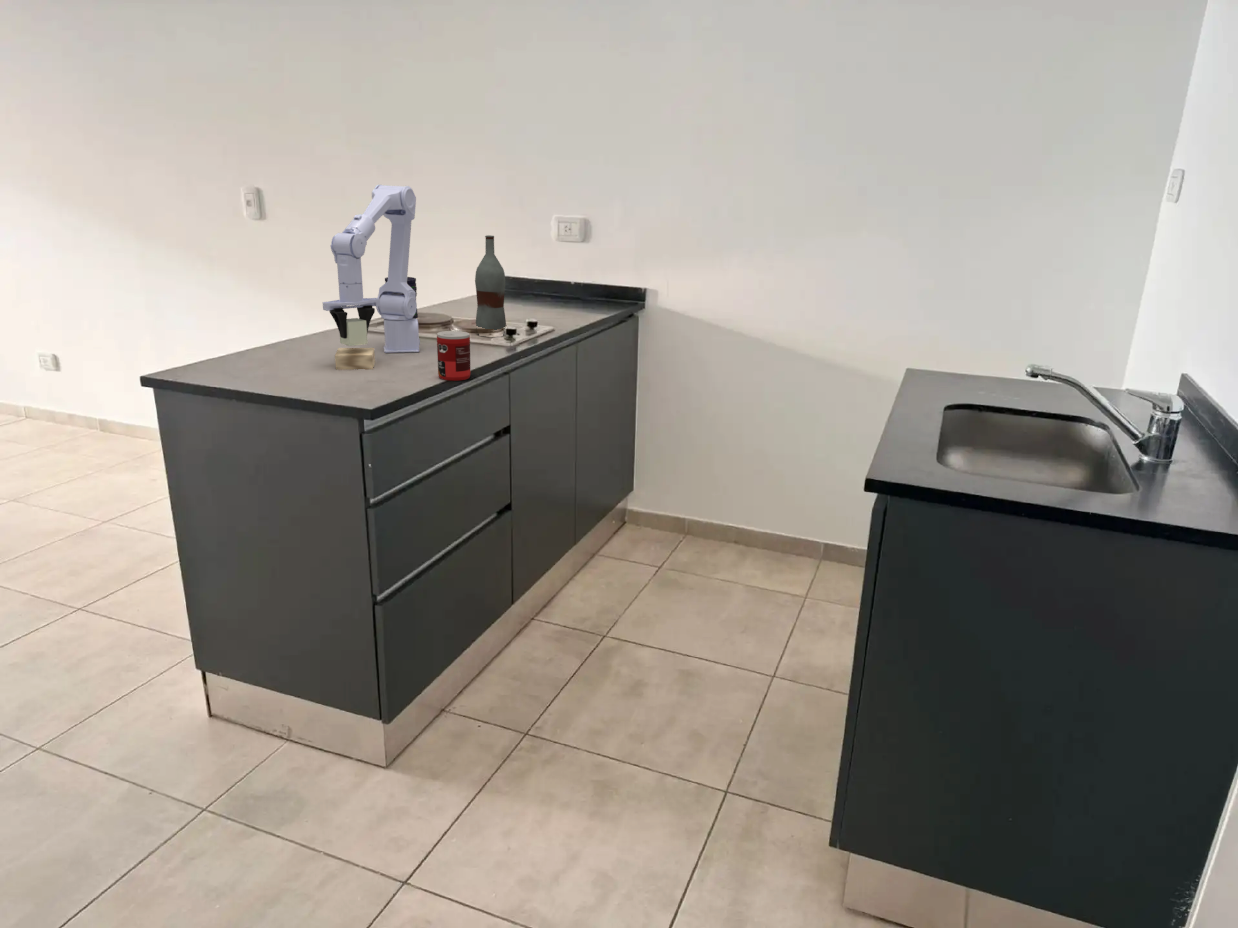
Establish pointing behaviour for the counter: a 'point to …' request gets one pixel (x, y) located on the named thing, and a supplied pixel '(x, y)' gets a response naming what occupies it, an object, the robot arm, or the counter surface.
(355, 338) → the sage block
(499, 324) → the bottle
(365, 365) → the maple slab
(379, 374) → the counter surface
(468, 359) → the canned food
